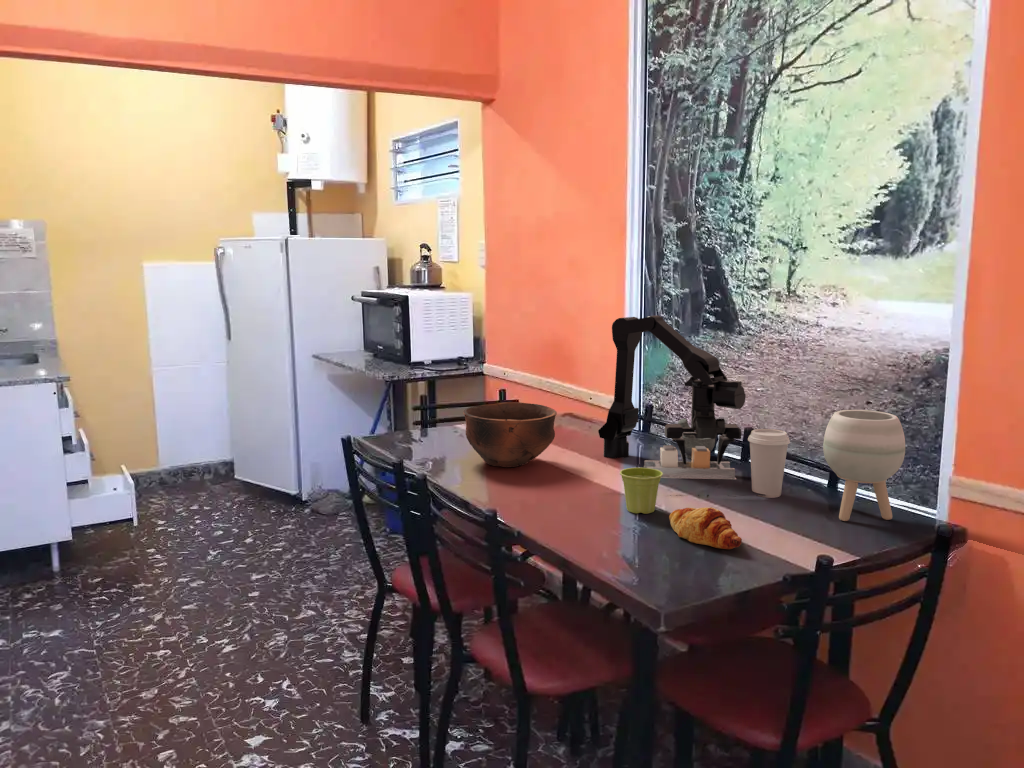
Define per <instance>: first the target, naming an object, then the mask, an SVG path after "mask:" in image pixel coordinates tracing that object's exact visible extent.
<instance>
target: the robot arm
mask: <svg viewBox="0 0 1024 768" xmlns="http://www.w3.org/2000/svg"><path fill="white" fill-rule="evenodd" d="M646 332H650V334H652V335H653V336H654V337H655V338H656V339H658V340H659V341H660V342H661V343H662V344H663V346H664V345H665V346H666V347H667V348H668V349H669V350H670V351H671V352H672V353H673V354H674V355H676V356H677V357H678V358H679V359H680V361H681V362H682V365H683V367H684V369H685V370H686V371H687V372H688V374H689V375H690V376H691V377H689V379H688V380H687V381H686V382H684V385H683V386H685V387H691V417H690V418H691V421H690V428H682V426H681V425H680V424H678V423H667V424H665V425H664V430H663V432H664V436H665V438H666V439H670V440H671V441H672V442H674V443H675V442H676V445H677V447H678V450H679V453H680V456H681V461H683V463H684V464H686V461H687V457H686V453H685V440H684V438H683V435H697V438H699V439H704V438H711V439H715V440H716V439H717V436H718V445H717V456H716V457H717V458H716V460H717V461H716V462H717V464H718V465H720V462H722V459H723V456H724V454H725V452H726V450H727V448H728V446H730V444H731V443H734V442H735V440H740V439H742V429H741V428H740V427H739V426H738V425H737V424H735V423H734V424H732V423H731V424H730V423H728V424H726V420H725V418H716V416H715V405H716V406H717V407H720V408H727V409H735V410H741V409H742V408H743V407H744V405H745V402H746V397H747V395H746V391H745V388H744V387H743V386H742V381H740V380H735V381H734V380H733V381H732V380H728V378H727V376H726V374H725V373H724V371H723V370H722V369H721V367H720V361H719V359H718V358H717V357H716V356H715V355H713V354H711V353H709V352H708V351H706V350H704V349H702V348H699V347H697V346H695V345H694V344H692V343H691V342H690V341H689V340H687V339H686V338H685V337H684V336H683V335H682V334H680V333H679V332H678V331H677V330H676V329H674V328H673V327H672V326H671V325H670V324H669V323H668V322H666V321H665V320H664V318H663V317H662V316H661V315H648V316H645V317H642V318H638V317H637V316H627V317H619V318H617V319H615V320H614V321H613V322H612V324H611V335H612V341H613V343H614V345H615V348H616V360H615V361H616V363H615V377H614V397H613V401H612V404H611V405H610V407H609V409H608V412H607V415H606V422H605V423H604V424H603V425H602V426H601V427H600V428H599V429H598V431H597V432H598V437H599V439H603V457H604V458H610V459H622V458H623V459H624V458H629V455H630V454H629V451H630V442H629V441H628V437H630V436H631V435H632V433H633V430H634V429H635V428H636V426H637V423H639V412H640V409H639V408H640V407H635V406H634V404H633V390H634V389H633V386H634V371H635V355H636V354H635V353H636V350H637V347H638V346H639V343H640V341H642V335H643V333H646Z"/></svg>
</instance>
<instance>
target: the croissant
mask: <svg viewBox="0 0 1024 768" xmlns="http://www.w3.org/2000/svg"><path fill="white" fill-rule="evenodd" d="M668 519H669V522H670V523H669V524H670V527H671V528H672V530H673V531H674V532H675V533H676V534H677V536H678V538H682V539H683V540H687V541H688V542H690V543H694V544H696V545H697V544H699V545H703V546H709V547H711V548H712V547H713V548H716V549H722V550H732V549H734V548H739V547H740V546H741V545H742V542H743V541H742V540H743V539H742V537H741V536H739V534H738V532H736V530H735V529H733V527H732V524H731V521H730V520H729V519H727V518H726V516H725V514H724V513H723V512H722V510H720V509H717V508H714V507H710V506H709V507H698V508H696V507H684V508H682V509H681V508H677V509H675V510H673V511H672V512H671V513H670V514H669V516H668Z"/></svg>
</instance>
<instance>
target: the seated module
mask: <svg viewBox="0 0 1024 768" xmlns="http://www.w3.org/2000/svg"><path fill="white" fill-rule="evenodd" d="M678 450H679V449H677V446H676V447H675V446H674V445H673V444H671V445H670V444H669V445H667V444H666V445H664V444H663V447H662V446H661V447H659V456H660V457H659V458H660V459H659V461H660V466H661V467H678V461H679V457H678V455H679V454H678V453H679V452H678Z"/></svg>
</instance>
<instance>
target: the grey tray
mask: <svg viewBox="0 0 1024 768" xmlns="http://www.w3.org/2000/svg"><path fill="white" fill-rule="evenodd" d="M643 462H644V464H643V468H651V469H656V470H659V471H661V472H662V473H663V475H662V477H661V479H693V480H695V479H697V480H699V479H700V480H702V479H703V480H705V479H706V480H737V478H736V469H735V468H734V467H731V462H730V461H721V462H720V465H718V464H717V461H715V460H714V461H711V460H710V468H698V467H691V462H692V460H686V464H684V463H683V460H678V467H661V466H660V460H650V459H648V460H647V459H646V460H644V461H643Z"/></svg>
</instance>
